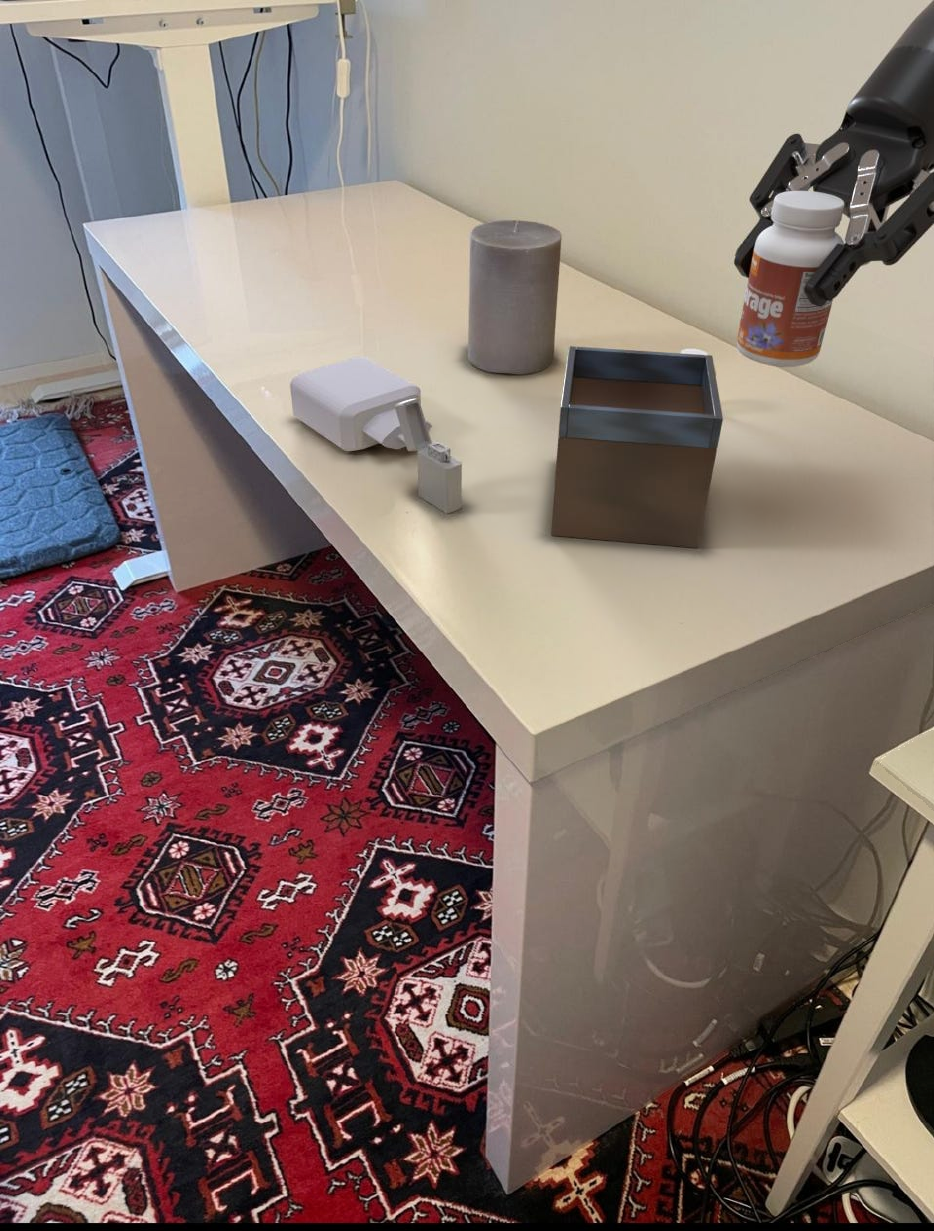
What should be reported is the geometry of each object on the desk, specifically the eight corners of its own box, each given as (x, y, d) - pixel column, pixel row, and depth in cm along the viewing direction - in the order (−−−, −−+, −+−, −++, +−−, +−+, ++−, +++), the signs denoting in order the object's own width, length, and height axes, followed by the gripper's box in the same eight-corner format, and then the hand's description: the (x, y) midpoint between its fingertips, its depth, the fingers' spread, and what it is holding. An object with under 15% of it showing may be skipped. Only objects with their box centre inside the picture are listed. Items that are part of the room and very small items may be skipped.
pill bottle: (719, 343, 74) (745, 191, 67) (788, 333, 76) (820, 184, 69) (763, 374, 69) (796, 214, 63) (835, 363, 71) (875, 206, 64)
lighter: (462, 507, 82) (463, 422, 77) (447, 514, 81) (447, 428, 76) (412, 475, 86) (410, 393, 81) (396, 481, 85) (393, 398, 80)
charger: (380, 481, 85) (293, 421, 94) (460, 451, 90) (370, 397, 99) (378, 433, 82) (288, 376, 92) (461, 405, 87) (368, 353, 96)
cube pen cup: (691, 476, 87) (712, 355, 80) (698, 548, 77) (723, 418, 70) (559, 465, 88) (569, 345, 81) (550, 535, 79) (560, 406, 72)
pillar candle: (516, 335, 113) (523, 202, 104) (571, 363, 107) (582, 223, 98) (449, 354, 108) (450, 216, 99) (502, 383, 102) (508, 239, 93)
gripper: (833, 30, 68) (684, 226, 70) (1017, 56, 59) (838, 283, 61) (864, 106, 74) (725, 286, 76) (1037, 141, 64) (871, 346, 66)
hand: (776, 284), depth 68 cm, fingers closed on pill bottle, 6 cm apart
